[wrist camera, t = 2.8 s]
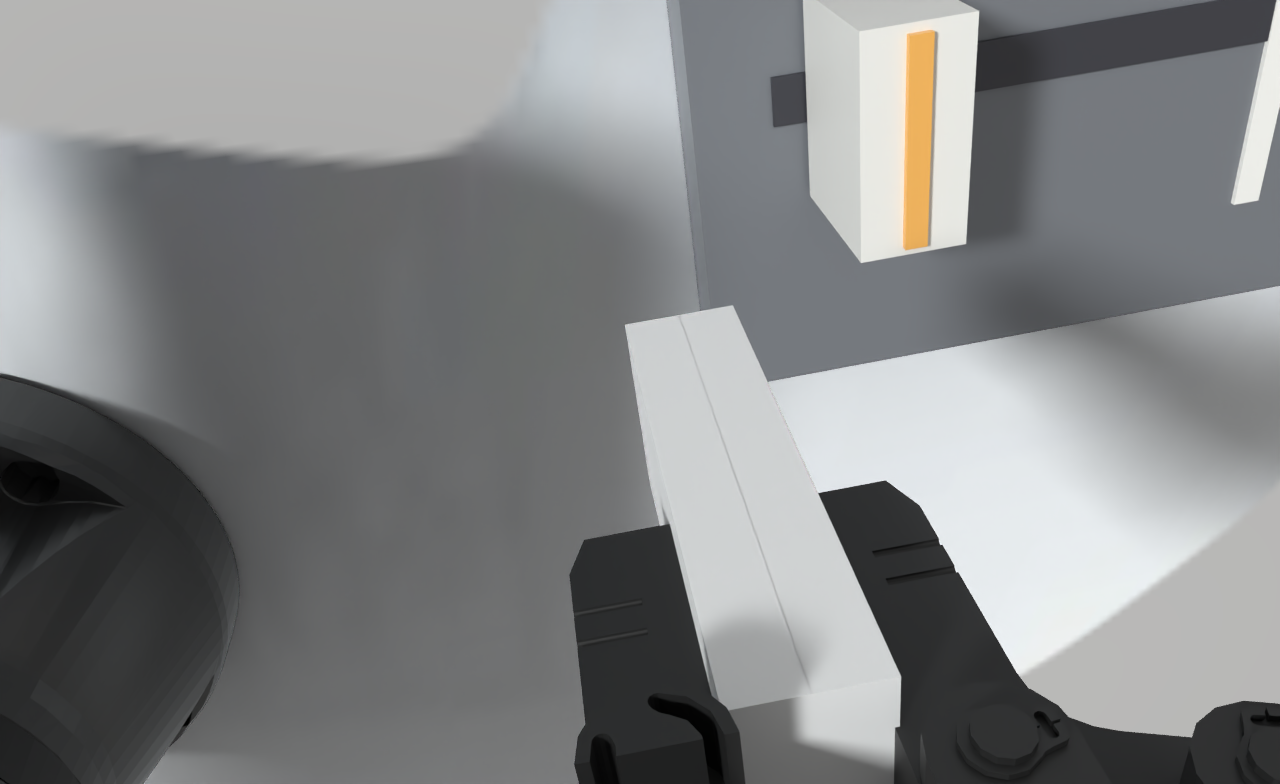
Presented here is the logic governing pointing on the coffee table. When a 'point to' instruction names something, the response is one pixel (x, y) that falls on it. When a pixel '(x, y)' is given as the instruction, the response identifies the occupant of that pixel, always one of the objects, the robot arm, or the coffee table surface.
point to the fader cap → (891, 120)
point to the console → (993, 177)
